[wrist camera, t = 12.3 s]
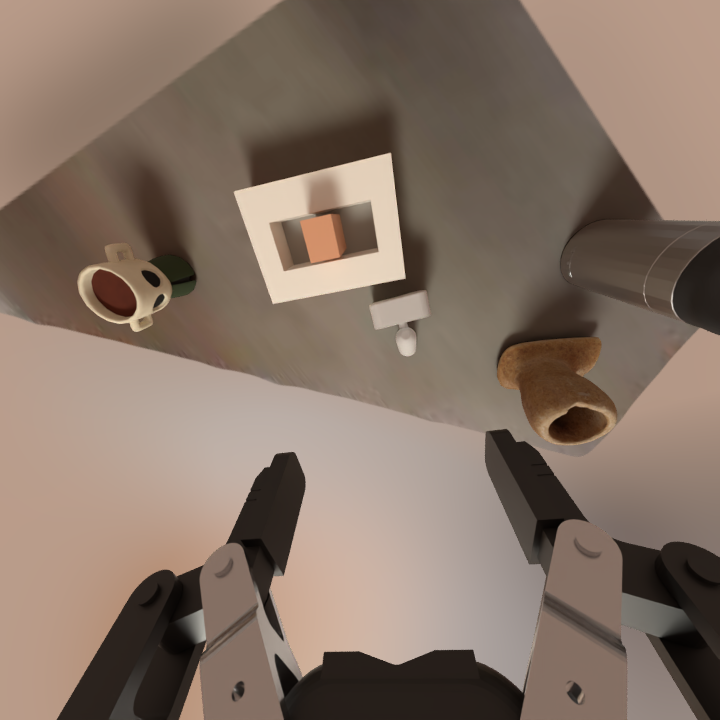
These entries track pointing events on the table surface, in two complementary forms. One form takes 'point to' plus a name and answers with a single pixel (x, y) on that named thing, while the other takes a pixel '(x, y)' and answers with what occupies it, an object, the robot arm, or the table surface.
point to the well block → (318, 198)
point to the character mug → (133, 286)
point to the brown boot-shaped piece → (559, 388)
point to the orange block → (324, 237)
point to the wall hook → (401, 317)
